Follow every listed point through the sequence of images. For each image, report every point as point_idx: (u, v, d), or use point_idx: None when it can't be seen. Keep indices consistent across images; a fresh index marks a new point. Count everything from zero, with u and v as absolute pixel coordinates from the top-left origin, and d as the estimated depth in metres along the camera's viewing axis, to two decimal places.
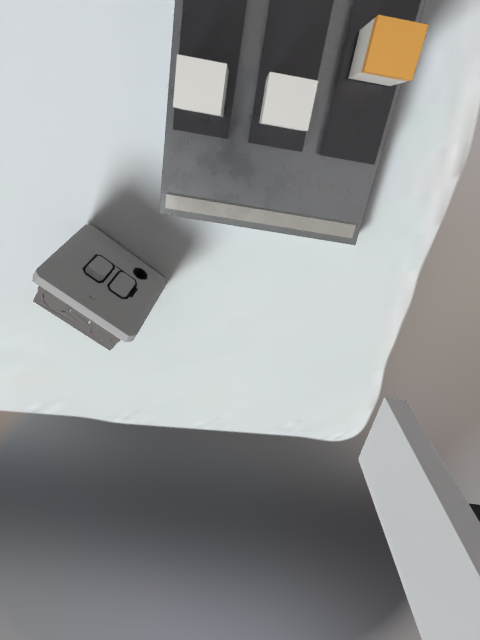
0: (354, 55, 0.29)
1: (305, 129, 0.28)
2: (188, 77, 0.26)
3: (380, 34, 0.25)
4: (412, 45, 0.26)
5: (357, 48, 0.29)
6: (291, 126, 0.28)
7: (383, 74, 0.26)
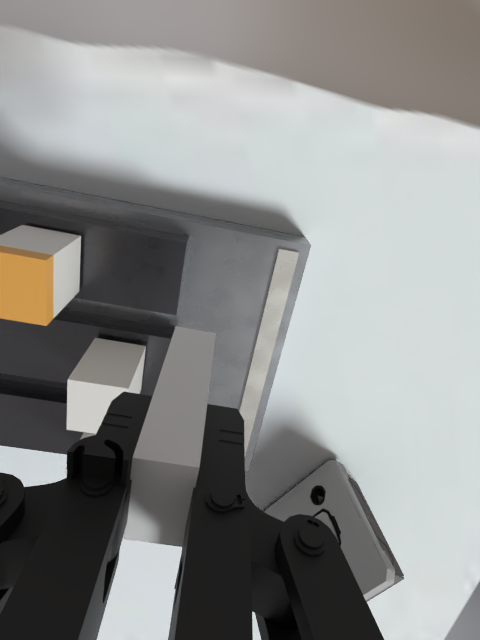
0: None
1: (126, 391, 0.20)
2: None
3: (0, 310, 0.18)
4: (3, 266, 0.18)
5: None
6: None
7: (46, 299, 0.18)
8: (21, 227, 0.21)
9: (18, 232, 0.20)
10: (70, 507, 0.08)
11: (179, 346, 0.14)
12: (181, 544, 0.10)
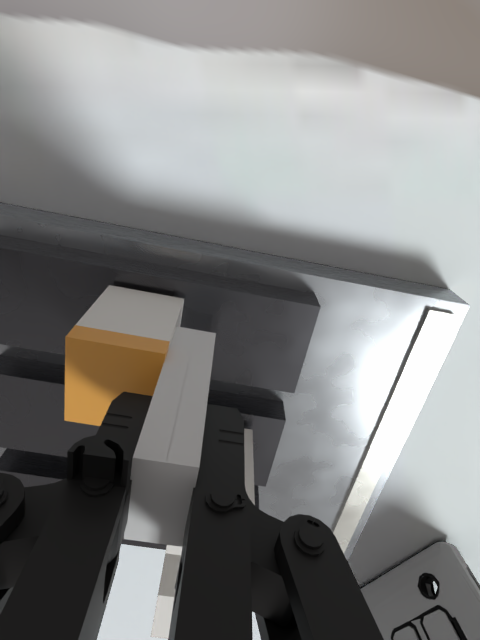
0: None
1: None
2: None
3: (93, 415, 0.13)
4: (104, 360, 0.12)
5: None
6: None
7: None
8: (110, 290, 0.16)
9: (109, 299, 0.15)
10: (70, 507, 0.08)
11: (179, 346, 0.14)
12: (181, 544, 0.10)
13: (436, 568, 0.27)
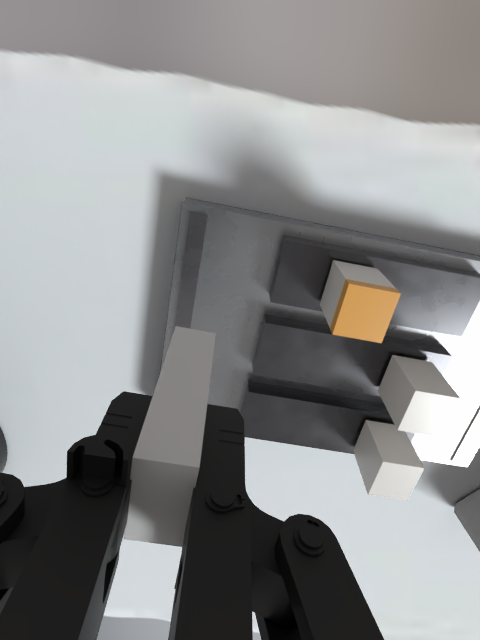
0: None
1: (458, 400, 0.26)
2: (387, 488, 0.29)
3: (350, 331, 0.24)
4: (366, 297, 0.23)
5: None
6: (451, 412, 0.26)
7: (388, 323, 0.24)
8: (337, 263, 0.26)
9: (343, 267, 0.25)
10: (70, 507, 0.08)
11: (179, 346, 0.14)
12: (181, 544, 0.10)
13: None
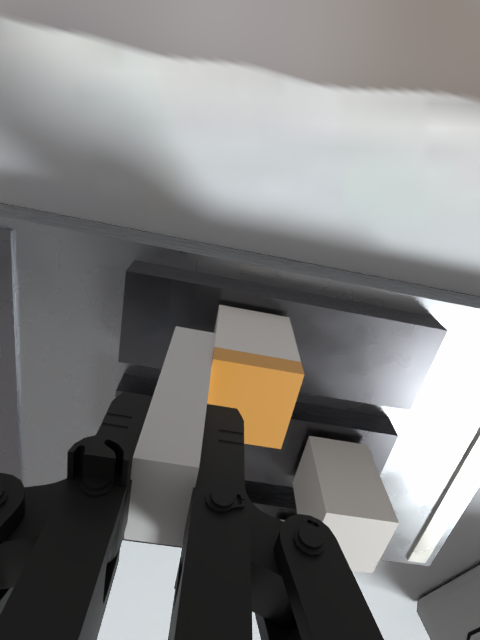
0: None
1: (395, 525, 0.16)
2: None
3: None
4: (246, 381, 0.13)
5: None
6: (386, 541, 0.17)
7: None
8: (223, 310, 0.16)
9: (228, 319, 0.16)
10: (70, 507, 0.08)
11: (179, 346, 0.14)
12: (181, 544, 0.10)
13: None
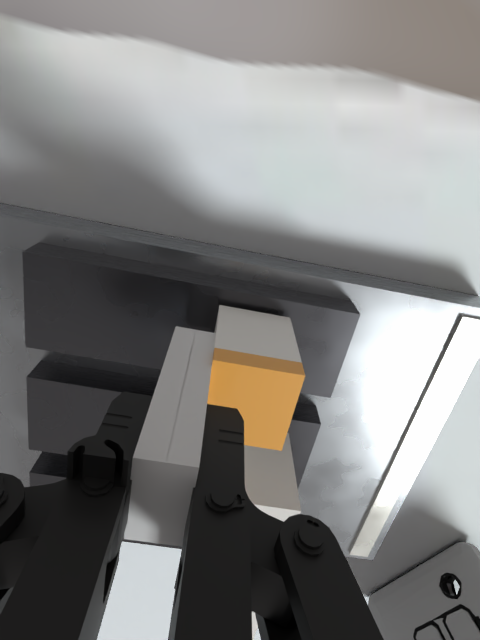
0: None
1: (298, 513, 0.16)
2: None
3: None
4: (246, 382, 0.13)
5: None
6: None
7: (289, 420, 0.14)
8: (223, 311, 0.16)
9: (228, 320, 0.16)
10: (70, 507, 0.08)
11: (179, 346, 0.14)
12: (181, 544, 0.10)
13: (458, 568, 0.28)
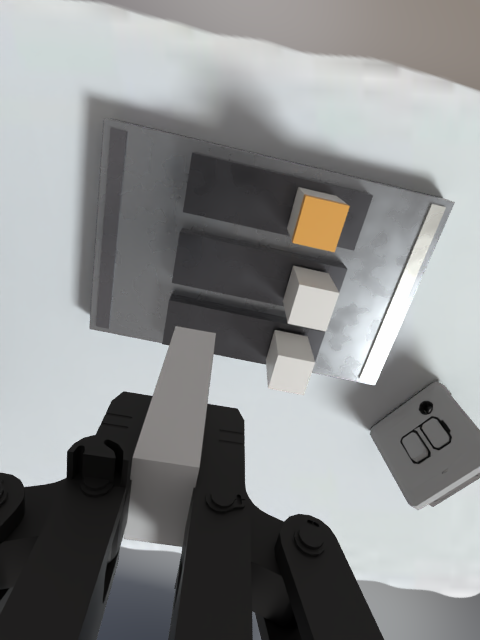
0: None
1: (337, 294, 0.29)
2: (284, 382, 0.33)
3: (307, 240, 0.28)
4: (320, 209, 0.27)
5: None
6: (333, 306, 0.30)
7: (339, 233, 0.28)
8: (301, 188, 0.30)
9: (305, 190, 0.29)
10: (70, 507, 0.08)
11: (179, 346, 0.14)
12: (181, 544, 0.10)
13: (431, 396, 0.41)
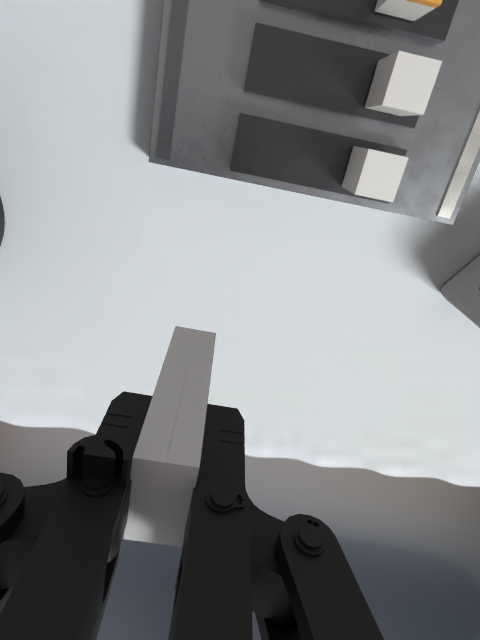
0: (396, 15, 0.29)
1: (440, 63, 0.27)
2: (373, 185, 0.30)
3: None
4: None
5: (393, 12, 0.29)
6: (433, 80, 0.27)
7: None
8: None
9: None
10: (70, 507, 0.08)
11: (179, 346, 0.14)
12: (181, 544, 0.10)
13: None
